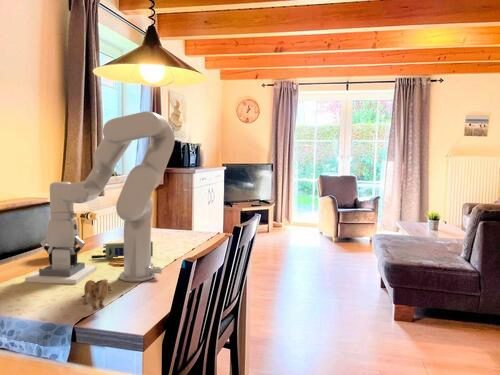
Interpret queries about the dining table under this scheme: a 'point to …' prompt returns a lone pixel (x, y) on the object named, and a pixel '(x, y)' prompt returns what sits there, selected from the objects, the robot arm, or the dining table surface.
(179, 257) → the dining table surface
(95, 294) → the lion figurine
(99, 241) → the dining table surface
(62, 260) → the product box
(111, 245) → the handheld radio
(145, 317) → the dining table surface
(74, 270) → the dock
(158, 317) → the dining table surface
